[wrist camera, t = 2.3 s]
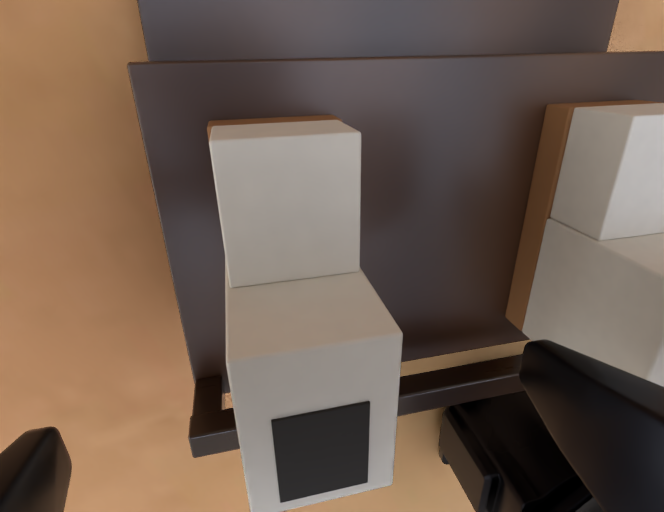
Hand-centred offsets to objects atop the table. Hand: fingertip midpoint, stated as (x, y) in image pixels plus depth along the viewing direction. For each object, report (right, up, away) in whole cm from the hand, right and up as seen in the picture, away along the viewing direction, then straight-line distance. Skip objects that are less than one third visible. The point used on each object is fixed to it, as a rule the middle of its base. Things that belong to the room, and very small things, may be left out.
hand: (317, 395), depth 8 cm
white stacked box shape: (-1, +3, +3) cm, 5 cm away
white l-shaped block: (+8, +4, +5) cm, 10 cm away
